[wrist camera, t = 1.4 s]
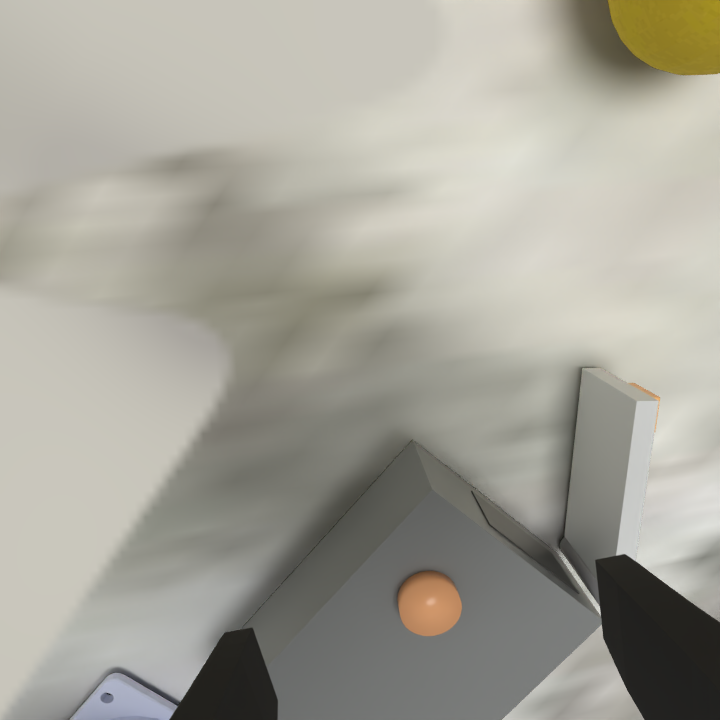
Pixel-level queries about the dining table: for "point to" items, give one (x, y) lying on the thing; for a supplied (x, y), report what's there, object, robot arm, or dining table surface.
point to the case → (420, 607)
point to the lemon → (671, 33)
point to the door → (608, 472)
